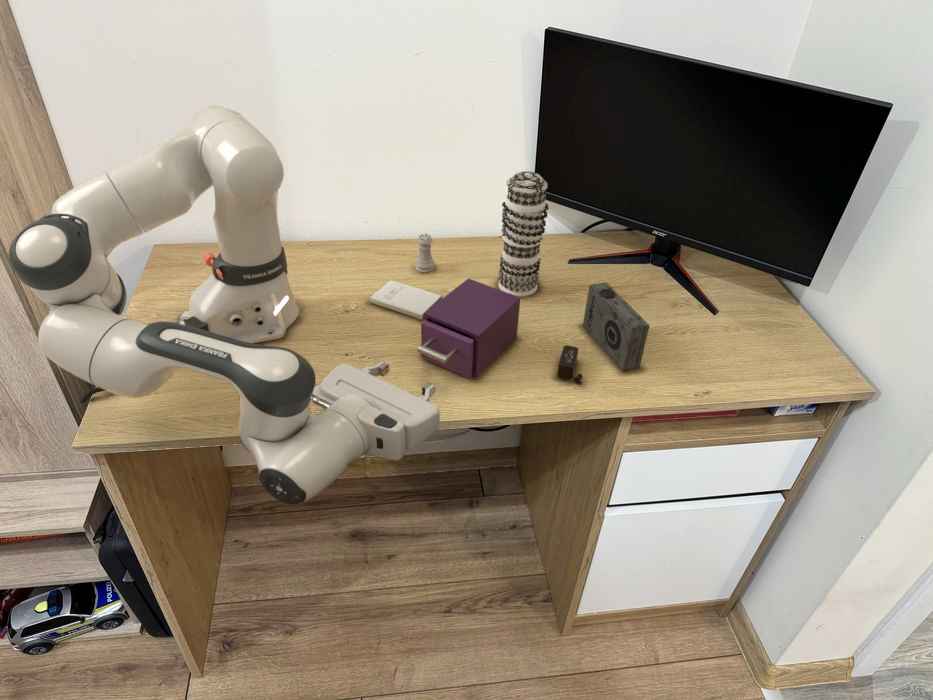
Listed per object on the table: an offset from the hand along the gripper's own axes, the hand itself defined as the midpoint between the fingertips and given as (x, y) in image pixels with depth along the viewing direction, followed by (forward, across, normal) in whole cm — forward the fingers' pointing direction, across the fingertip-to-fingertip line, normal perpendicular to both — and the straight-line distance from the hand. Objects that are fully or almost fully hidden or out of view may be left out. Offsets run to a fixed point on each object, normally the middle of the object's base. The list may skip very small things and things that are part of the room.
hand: (408, 376), depth 116 cm
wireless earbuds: (+24, +19, -6) cm, 31 cm away
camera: (+36, +21, -6) cm, 42 cm away
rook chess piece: (+38, -24, -6) cm, 45 cm away
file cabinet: (+20, 0, -6) cm, 21 cm away
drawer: (+15, 0, -5) cm, 16 cm away
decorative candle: (+44, -4, -6) cm, 45 cm away
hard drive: (+25, -19, -6) cm, 32 cm away
